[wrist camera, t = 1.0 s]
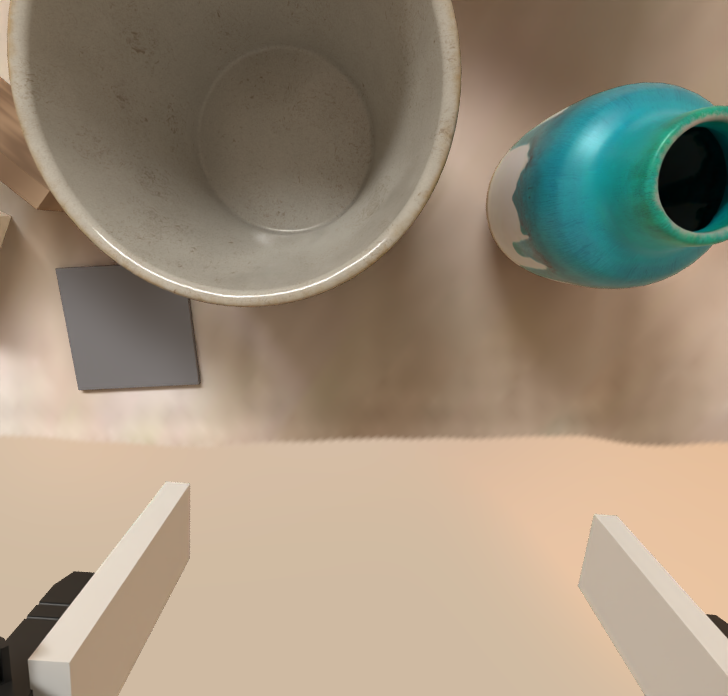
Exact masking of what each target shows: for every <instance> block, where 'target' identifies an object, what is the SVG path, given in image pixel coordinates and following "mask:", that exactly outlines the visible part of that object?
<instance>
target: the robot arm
mask: <svg viewBox="0 0 728 696" xmlns="http://www.w3.org/2000/svg"><path fill="white" fill-rule="evenodd" d="M189 558H190V483H178V482H165V484H164V485H163V486H162V487H161V489H160V490H159V491H158V492H157V494H156V495H155V496H154V498H153V499H152V500H151V502H150V503H149V504H148V505H147V507H146V508H145V509H144V511H143V512H142V513H141V514H140V516H139V517H138V518H137V520H136V521H135V522H134V524H133V525H132V526H131V527H130V529H129V530H128V531H127V533H126V534H125V535H124V536H123V538H122V539H121V540H120V542H119V543H118V544H117V546H116V547H115V548H114V549H113V551H112V552H111V553H110V554H109V556H108V557H107V558H106V560H105V561H104V562H103V563H102V565H101V566H100V567H99V569H98V570H97V571H96V573H90V572H73V573H71V574H70V575H68V576H67V577H65V578H64V579H62V580H61V581H59V582H58V583H56V584H55V585H53V587H52V588H51V589H50V590H49V591H48V593H46V595H45V596H44V597H43V598H42V599H41V600H40V602H39V605H36V606H35V607H34V609H33V610H32V611H31V612H30V613H29V614H28V616H27V619H24V620H23V621H22V623H21V624H20V625H19V626H18V627H17V628H16V629H15V631H14V632H13V633H12V634H11V635H10V636H9V638H8V639H7V640H6V641H5V639H4V638H2V637H0V696H118V695H119V693H120V691H121V689H122V687H123V685H124V683H125V682H126V680H127V677H128V676H129V674H130V671H131V670H132V668H133V666H134V664H135V662H136V660H137V658H138V656H139V655H140V653H141V651H142V649H143V647H144V645H145V643H146V641H147V639H148V637H149V635H150V634H151V632H152V630H153V628H154V626H155V624H156V622H157V620H158V618H159V616H160V614H161V612H162V610H163V609H164V606H165V605H166V603H167V601H168V599H169V597H170V595H171V593H172V591H173V589H174V587H175V585H176V584H177V582H178V580H179V578H180V576H181V574H182V572H183V570H184V568H185V566H186V564H187V562H188V560H189ZM578 587H579V589H580V590H581V592H582V593H583V595H584V596H585V598H586V600H587V602H588V603H589V605H590V607H591V608H592V610H593V611H594V613H595V615H596V616H597V618H598V620H599V621H600V623H601V625H602V626H603V628H604V629H605V631H606V633H607V634H608V636H609V638H610V639H611V641H612V643H613V644H614V646H615V647H616V649H617V651H618V652H619V654H620V656H621V657H622V659H623V660H624V662H625V664H626V665H627V667H628V669H629V670H630V672H631V673H632V675H633V677H634V678H635V680H636V682H637V683H638V685H639V687H640V688H641V690H642V692H643V693H644V695H645V696H728V624H727V623H726V622H725V621H723V620H722V619H720V618H719V617H718V616H716V615H708V614H705V613H704V612H703V611H702V610H701V609H700V607H699V606H698V605H697V604H696V603H695V602H694V601H693V600H692V599H691V597H690V596H689V595H688V594H687V593H686V592H685V591H684V590H683V589H682V587H681V586H680V585H679V584H678V583H677V582H676V581H675V580H674V579H673V577H672V576H671V575H670V574H669V573H668V572H667V571H666V570H665V569H664V567H663V566H662V565H661V564H660V563H659V562H658V561H657V560H656V558H655V557H654V556H653V555H652V554H651V553H650V552H649V551H648V550H647V549H646V547H644V545H643V544H642V543H641V542H640V541H639V540H638V538H637V537H636V536H635V535H634V534H633V533H632V532H631V531H630V530H629V529H628V528H627V526H626V525H625V524H624V523H623V522H622V521H621V520H620V519H619V517H618V516H615V515H600V514H594V516H593V521H592V525H591V530H590V534H589V539H588V543H587V548H586V552H585V557H584V561H583V566H582V570H581V575H580V579H579V584H578Z"/></svg>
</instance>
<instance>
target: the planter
mask: <svg viewBox="0 0 728 696" xmlns="http://www.w3.org/2000/svg"><path fill="white" fill-rule="evenodd" d="M7 56H8V68H9V78H10V84H11V90H12V96H13V100H14V105H15V109H16V113H17V117H18V120H19V123H20V127H21V130H22V133H23V136H24V138H25V141H26V143H27V146H28V149H29V151H30V153H31V155H32V158H33V160H34V162H35V164H36V166H37V168H38V170H39V172H40V174H41V176H42V177H43V179H44V181H45V183H46V185H47V186H48V188H49V189H50V191H51V193H52V194H53V196H54V197H55V199H56V200H57V202H58V203H59V204H60V206H61V207H62V208H63V210H64V211H65V212H66V214H67V215H68V216H69V217H70V219H71V220H72V221H73V222H74V223H75V224H76V226H77V227H78V228H79V229H80V230H81V231H82V232H83V233H84V234H85V235H86V236H87V237H88V238H89V239H90V240H91V241H92V242H93V243H94V244H95V245H96V246H97V247H98V248H100V249H101V250H102V251H103V252H104V253H105V254H106V255H108V256H109V257H110V258H112V259H113V260H114V261H116V262H117V263H118V264H120V265H121V266H123V267H124V268H126V269H127V270H129V271H130V272H132V273H133V274H135V275H137V276H138V277H140V278H142V279H144V280H145V281H147V282H149V283H151V284H153V285H156V286H158V287H160V288H162V289H164V290H167V291H169V292H172V293H174V294H177V295H180V296H183V297H186V298H190V299H193V300H197V301H202V302H206V303H211V304H217V305H224V306H236V307H261V306H273V305H279V304H285V303H291V302H295V301H299V300H303V299H306V298H309V297H312V296H315V295H318V294H321V293H323V292H326V291H328V290H330V289H333V288H335V287H337V286H339V285H341V284H343V283H345V282H347V281H348V280H350V279H352V278H353V277H355V276H357V275H358V274H360V273H361V272H363V271H364V270H366V269H367V268H368V267H370V266H371V265H372V264H374V263H375V262H376V261H377V260H379V259H380V258H381V257H382V256H383V255H384V254H385V253H387V252H388V251H389V250H390V249H391V248H392V247H393V246H394V245H395V244H396V243H397V242H398V241H399V240H400V238H401V237H402V236H403V235H404V234H405V232H406V231H407V230H408V229H409V228H410V226H411V225H412V224H413V222H414V221H415V220H416V218H417V217H418V215H419V214H420V213H421V211H422V209H423V208H424V206H425V204H426V203H427V201H428V200H429V198H430V196H431V194H432V192H433V190H434V188H435V186H436V184H437V182H438V180H439V178H440V175H441V173H442V171H443V168H444V166H445V163H446V160H447V157H448V154H449V151H450V148H451V144H452V140H453V136H454V133H455V128H456V123H457V117H458V112H459V103H460V93H461V53H460V43H459V34H458V28H457V23H456V17H455V12H454V8H453V5H452V1H451V0H10V7H9V14H8V29H7Z"/></svg>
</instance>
